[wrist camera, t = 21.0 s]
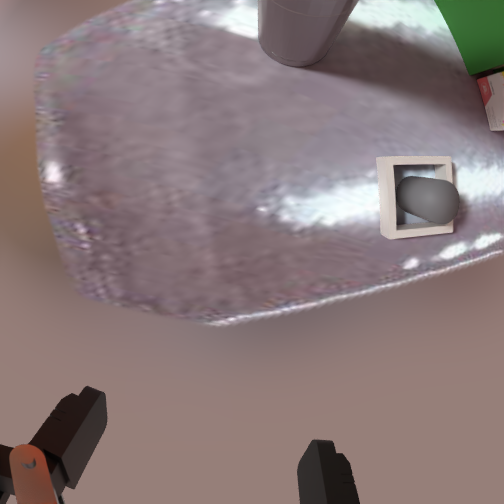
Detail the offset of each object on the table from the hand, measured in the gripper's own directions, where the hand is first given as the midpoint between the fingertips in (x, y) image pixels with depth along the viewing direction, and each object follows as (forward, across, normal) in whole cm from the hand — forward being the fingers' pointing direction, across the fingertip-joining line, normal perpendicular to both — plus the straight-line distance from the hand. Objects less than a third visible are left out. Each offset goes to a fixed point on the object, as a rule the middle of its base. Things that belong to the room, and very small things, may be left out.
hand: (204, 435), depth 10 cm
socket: (+30, -20, -12) cm, 38 cm away
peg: (+30, -20, -12) cm, 38 cm away
